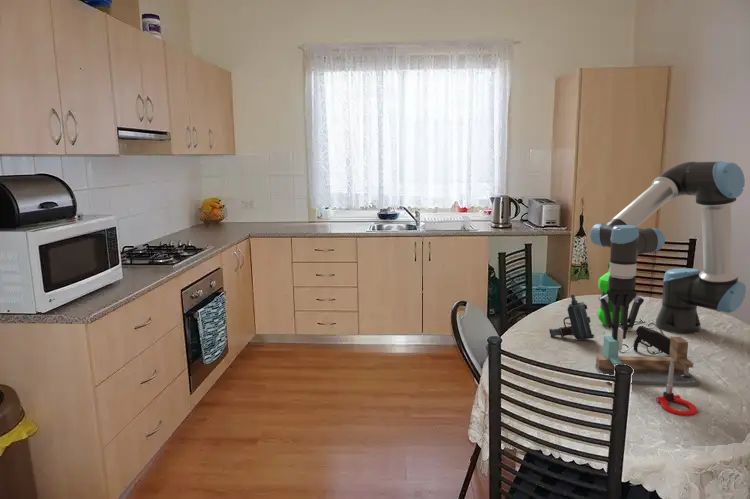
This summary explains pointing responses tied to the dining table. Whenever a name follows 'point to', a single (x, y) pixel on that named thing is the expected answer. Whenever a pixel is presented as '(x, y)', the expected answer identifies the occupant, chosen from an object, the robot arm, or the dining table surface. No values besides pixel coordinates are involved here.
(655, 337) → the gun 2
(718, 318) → the dining table surface
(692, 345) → the dining table surface
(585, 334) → the gun
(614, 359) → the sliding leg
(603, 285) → the plastic bottle
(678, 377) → the bolt plate
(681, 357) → the wooden clamp
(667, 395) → the tow hook
